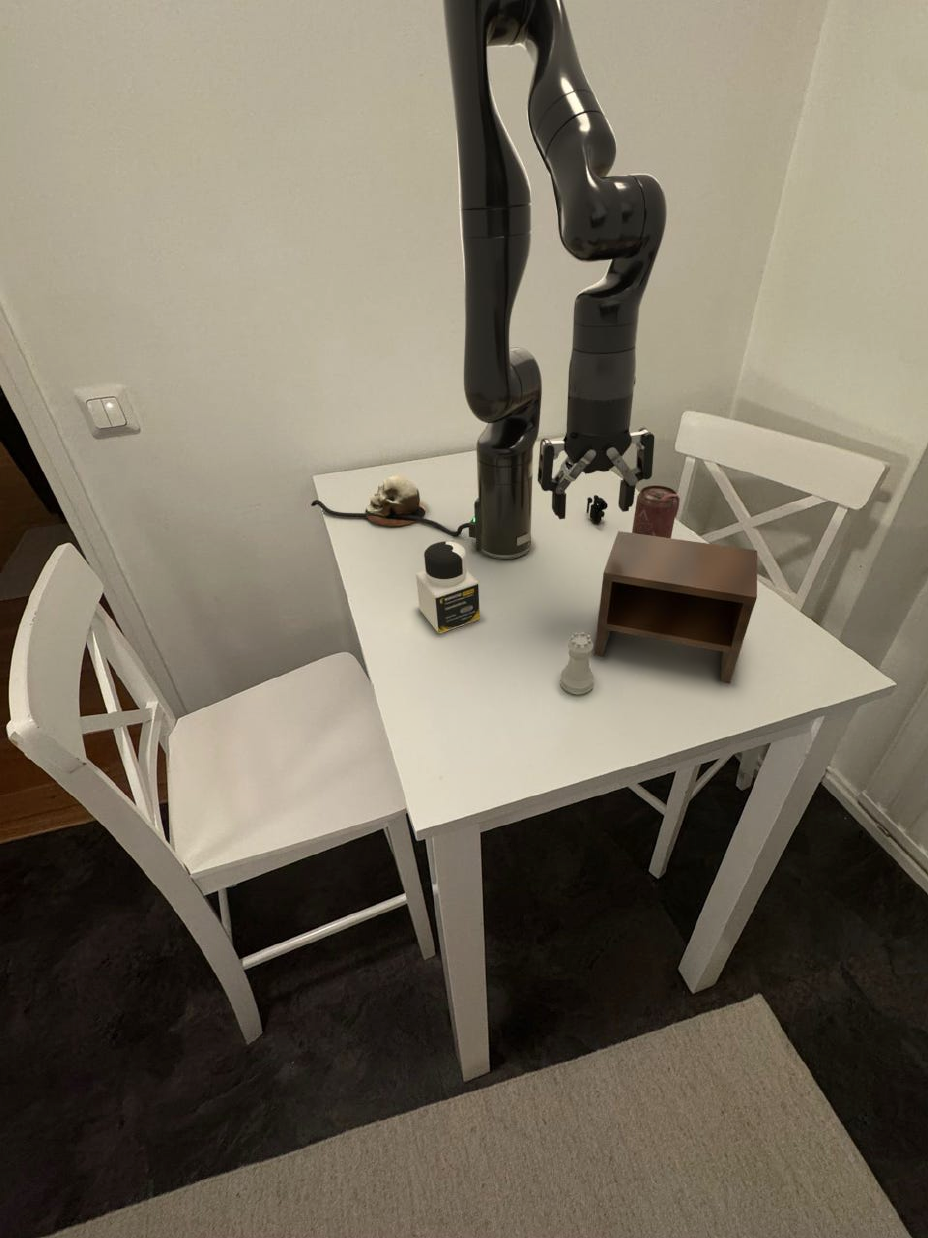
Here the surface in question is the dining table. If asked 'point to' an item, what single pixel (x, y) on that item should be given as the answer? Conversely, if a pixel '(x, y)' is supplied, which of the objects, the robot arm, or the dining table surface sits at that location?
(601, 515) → the wireless earbuds
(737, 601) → the shelf
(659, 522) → the can
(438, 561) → the medicine bottle
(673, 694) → the dining table surface
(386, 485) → the skull
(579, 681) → the rook chess piece
